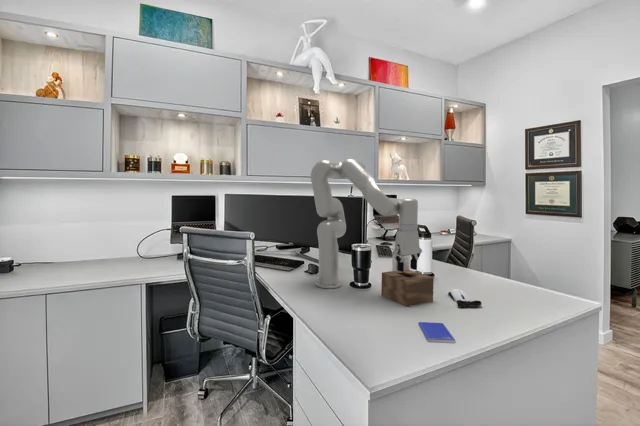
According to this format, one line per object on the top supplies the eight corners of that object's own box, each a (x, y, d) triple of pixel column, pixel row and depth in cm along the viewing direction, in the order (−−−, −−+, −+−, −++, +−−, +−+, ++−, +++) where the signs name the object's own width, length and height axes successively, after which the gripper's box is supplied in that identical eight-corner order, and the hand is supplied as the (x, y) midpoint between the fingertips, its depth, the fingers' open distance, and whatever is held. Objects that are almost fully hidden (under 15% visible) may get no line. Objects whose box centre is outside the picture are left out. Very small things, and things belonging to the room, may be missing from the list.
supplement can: (388, 282, 158) (389, 252, 157) (398, 279, 164) (398, 250, 163) (402, 286, 152) (403, 255, 151) (412, 282, 158) (412, 253, 157)
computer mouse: (462, 294, 141) (462, 285, 141) (484, 309, 123) (484, 299, 122) (439, 294, 141) (440, 286, 140) (458, 309, 122) (458, 299, 122)
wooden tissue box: (381, 295, 138) (381, 272, 138) (405, 290, 145) (406, 269, 144) (407, 306, 124) (408, 281, 124) (433, 301, 131) (433, 277, 130)
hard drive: (455, 339, 94) (443, 322, 106) (427, 338, 95) (418, 321, 107) (455, 344, 94) (443, 327, 106) (427, 343, 95) (418, 326, 107)
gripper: (416, 226, 140) (415, 266, 141) (385, 228, 132) (385, 270, 133) (429, 227, 134) (428, 269, 135) (398, 230, 126) (397, 274, 127)
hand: (407, 269), depth 134 cm, fingers open, 6 cm apart
